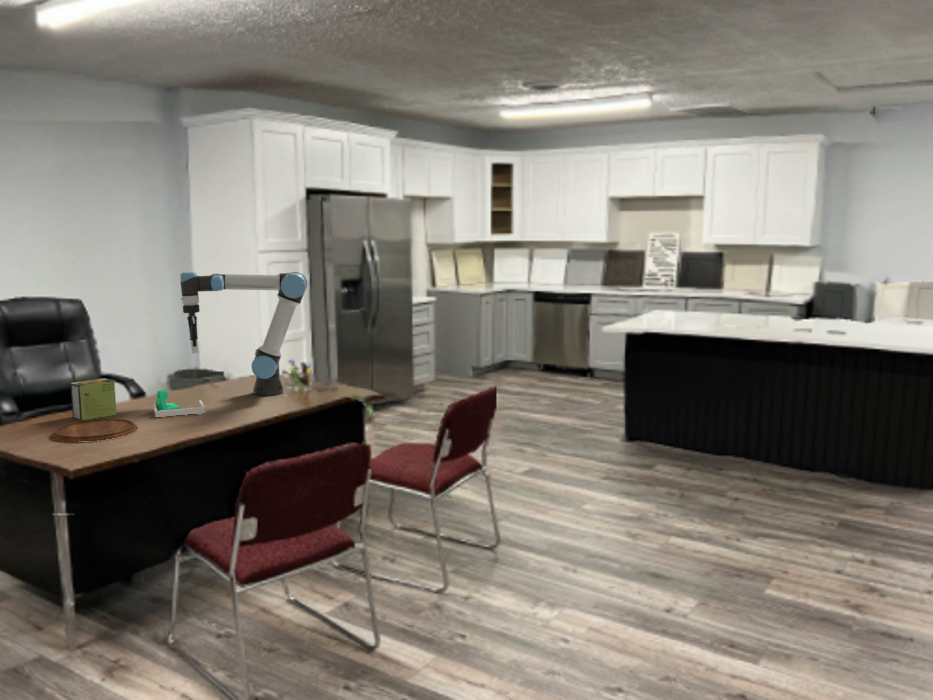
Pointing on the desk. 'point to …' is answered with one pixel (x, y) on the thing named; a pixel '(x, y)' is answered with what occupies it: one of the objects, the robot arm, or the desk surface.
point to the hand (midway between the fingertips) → (195, 352)
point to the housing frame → (180, 411)
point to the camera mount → (161, 401)
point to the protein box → (93, 399)
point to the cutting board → (94, 430)
